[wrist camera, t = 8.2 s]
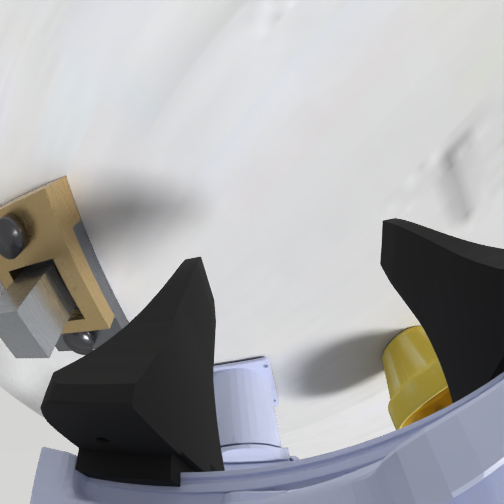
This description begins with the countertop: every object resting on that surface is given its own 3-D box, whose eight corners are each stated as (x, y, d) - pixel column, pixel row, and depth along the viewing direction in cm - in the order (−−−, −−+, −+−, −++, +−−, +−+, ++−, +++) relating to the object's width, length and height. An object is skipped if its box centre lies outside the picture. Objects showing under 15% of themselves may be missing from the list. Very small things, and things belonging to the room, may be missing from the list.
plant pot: (385, 316, 26) (430, 390, 18) (452, 307, 28) (496, 364, 19) (355, 379, 31) (381, 445, 23) (418, 366, 32) (448, 420, 24)
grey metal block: (85, 288, 21) (49, 357, 14) (53, 295, 21) (16, 358, 14) (65, 247, 19) (16, 311, 12) (33, 257, 19) (-15, 315, 12)
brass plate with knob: (135, 333, 24) (125, 368, 20) (63, 341, 24) (50, 370, 20) (65, 175, 17) (35, 194, 13) (-6, 209, 17) (-35, 230, 13)
